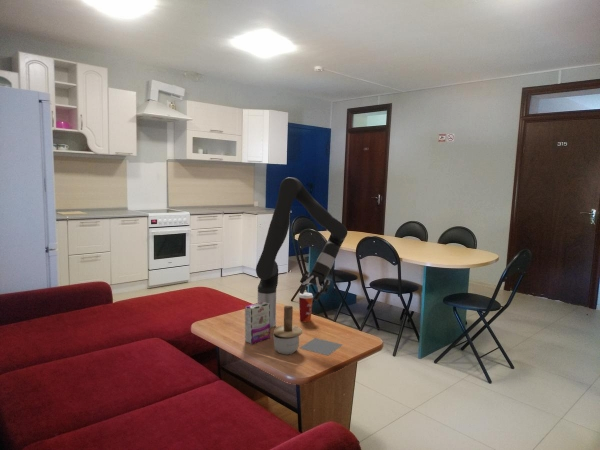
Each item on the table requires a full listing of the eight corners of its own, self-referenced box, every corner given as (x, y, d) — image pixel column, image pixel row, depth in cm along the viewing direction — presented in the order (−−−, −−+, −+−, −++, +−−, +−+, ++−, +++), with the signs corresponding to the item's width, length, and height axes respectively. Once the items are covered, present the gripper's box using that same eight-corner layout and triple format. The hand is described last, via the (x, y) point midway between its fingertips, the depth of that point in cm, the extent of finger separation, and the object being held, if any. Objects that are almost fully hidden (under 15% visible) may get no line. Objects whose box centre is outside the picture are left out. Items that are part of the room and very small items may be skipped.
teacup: (289, 359, 161) (290, 340, 161) (267, 353, 167) (268, 334, 166) (307, 348, 173) (307, 330, 172) (286, 342, 179) (286, 325, 178)
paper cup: (311, 323, 205) (311, 296, 204) (296, 321, 207) (297, 295, 205) (313, 318, 213) (314, 292, 211) (299, 317, 214) (300, 291, 213)
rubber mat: (299, 348, 172) (299, 347, 172) (315, 338, 184) (315, 337, 184) (328, 356, 165) (328, 355, 165) (342, 345, 177) (342, 344, 177)
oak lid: (268, 333, 167) (268, 307, 166) (283, 325, 177) (284, 301, 176) (292, 339, 161) (292, 313, 160) (307, 331, 171) (307, 306, 170)
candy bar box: (262, 335, 187) (263, 300, 185) (270, 338, 184) (270, 303, 182) (244, 341, 179) (244, 305, 177) (251, 344, 175) (251, 308, 174)
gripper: (308, 257, 185) (292, 289, 181) (332, 266, 175) (316, 300, 172) (315, 262, 190) (300, 293, 187) (339, 272, 181) (324, 305, 178)
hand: (308, 296), depth 180 cm, fingers open, 8 cm apart
